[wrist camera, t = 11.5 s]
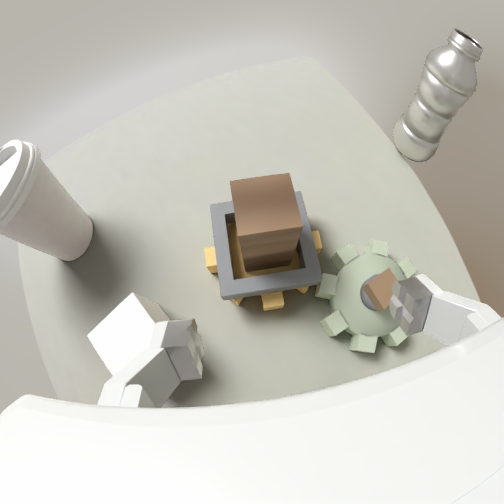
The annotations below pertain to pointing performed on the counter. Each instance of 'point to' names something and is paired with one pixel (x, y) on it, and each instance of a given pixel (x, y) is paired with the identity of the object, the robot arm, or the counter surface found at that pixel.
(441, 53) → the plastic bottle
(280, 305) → the frame
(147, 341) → the white cube
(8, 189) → the coffee cup
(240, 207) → the peg
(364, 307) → the gear
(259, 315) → the counter surface
